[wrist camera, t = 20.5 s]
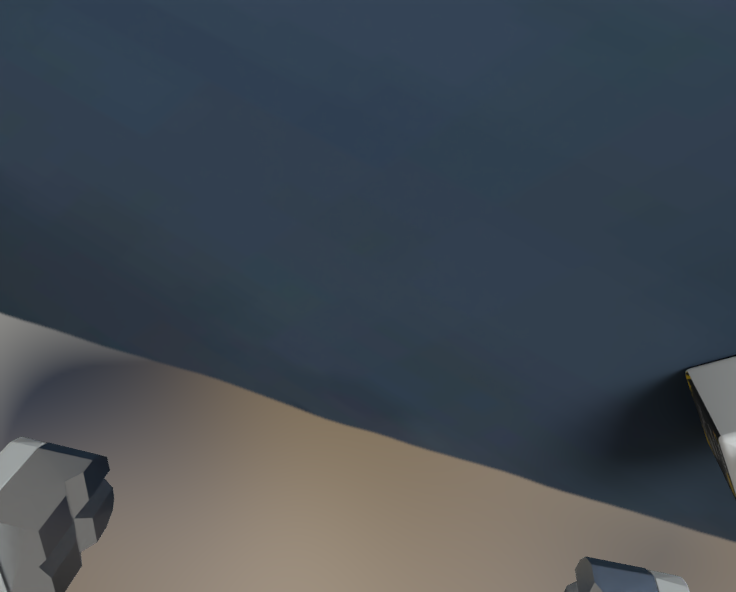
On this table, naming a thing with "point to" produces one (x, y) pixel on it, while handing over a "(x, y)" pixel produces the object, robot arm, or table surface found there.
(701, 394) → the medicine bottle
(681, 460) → the table surface
